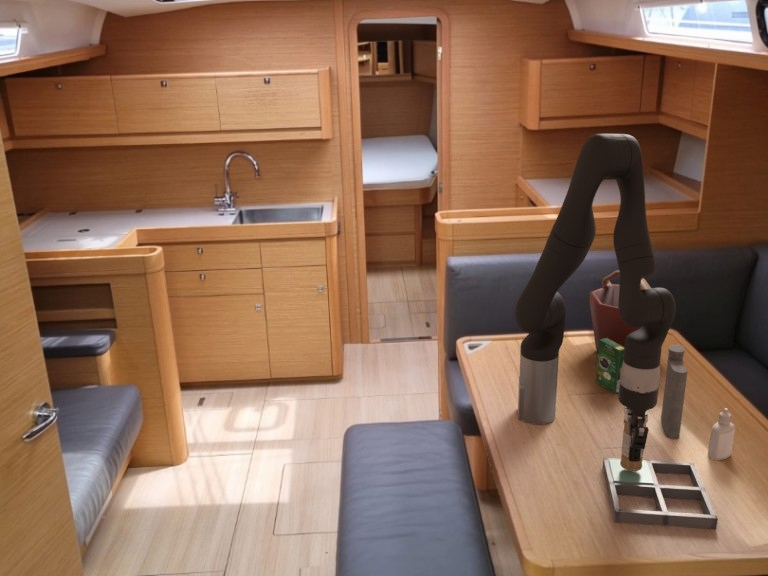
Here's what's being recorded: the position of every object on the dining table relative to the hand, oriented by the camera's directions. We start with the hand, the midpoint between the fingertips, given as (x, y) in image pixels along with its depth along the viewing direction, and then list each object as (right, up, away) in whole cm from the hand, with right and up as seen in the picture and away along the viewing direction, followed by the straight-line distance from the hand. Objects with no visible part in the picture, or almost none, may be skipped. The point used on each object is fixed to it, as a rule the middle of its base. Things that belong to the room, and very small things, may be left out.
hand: (632, 453), depth 154 cm
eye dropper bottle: (+23, -3, +11) cm, 26 cm away
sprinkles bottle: (0, -3, +1) cm, 3 cm away
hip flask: (+18, +2, +25) cm, 31 cm away
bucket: (+19, +15, +61) cm, 66 cm away
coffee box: (+8, +8, +42) cm, 44 cm away
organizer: (+4, -8, -3) cm, 10 cm away
